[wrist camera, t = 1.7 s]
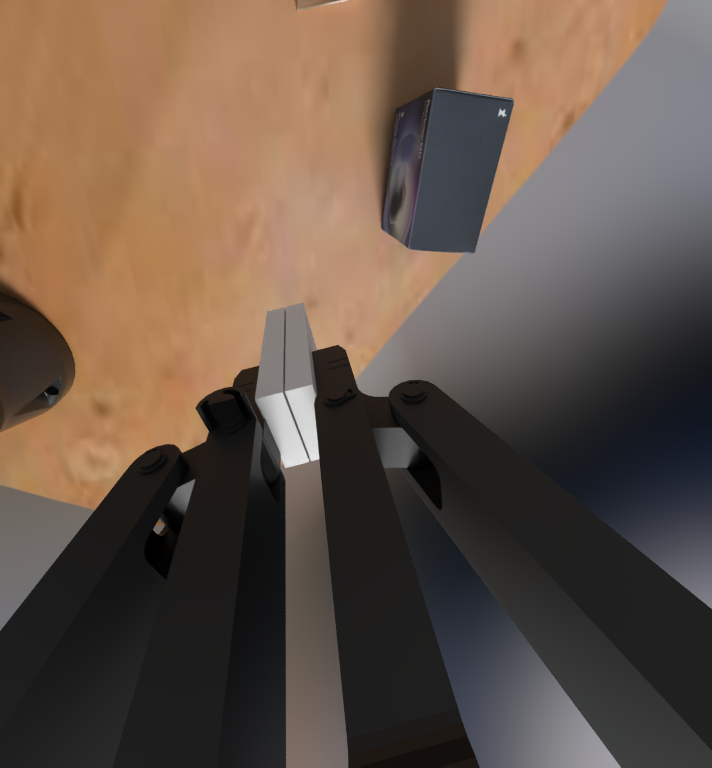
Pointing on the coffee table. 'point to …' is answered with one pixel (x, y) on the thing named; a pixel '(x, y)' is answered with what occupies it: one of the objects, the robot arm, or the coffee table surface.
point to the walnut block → (313, 3)
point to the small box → (443, 168)
